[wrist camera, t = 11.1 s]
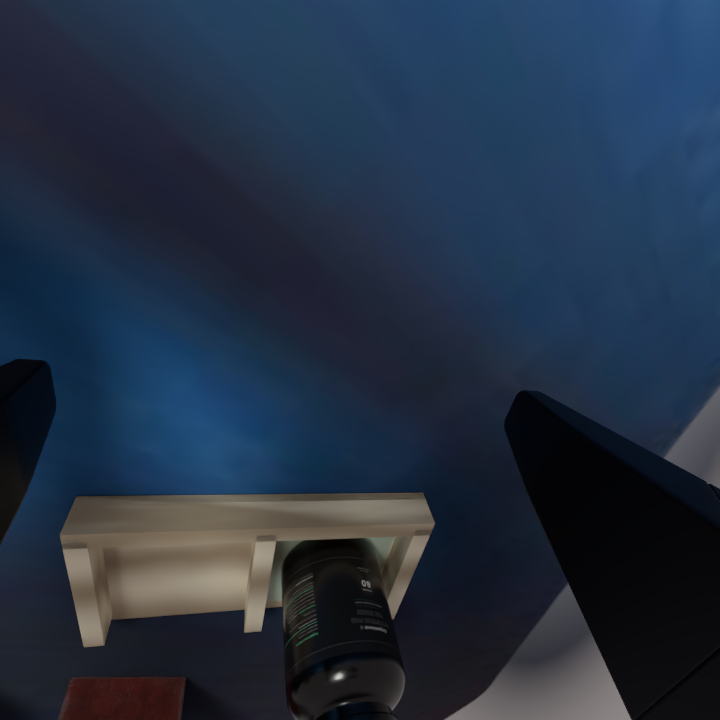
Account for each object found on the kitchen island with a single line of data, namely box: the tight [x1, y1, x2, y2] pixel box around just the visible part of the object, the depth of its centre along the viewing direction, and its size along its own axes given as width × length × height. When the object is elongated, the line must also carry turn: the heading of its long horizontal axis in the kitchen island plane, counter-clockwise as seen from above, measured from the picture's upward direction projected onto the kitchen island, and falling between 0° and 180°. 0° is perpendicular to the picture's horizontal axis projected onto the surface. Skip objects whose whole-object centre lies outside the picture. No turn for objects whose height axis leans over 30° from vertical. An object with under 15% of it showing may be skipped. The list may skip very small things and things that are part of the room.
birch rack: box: [60, 493, 435, 647], centre depth 30 cm, size 12×22×3 cm, turn 78°
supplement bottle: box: [281, 538, 405, 720], centre depth 27 cm, size 7×7×12 cm
